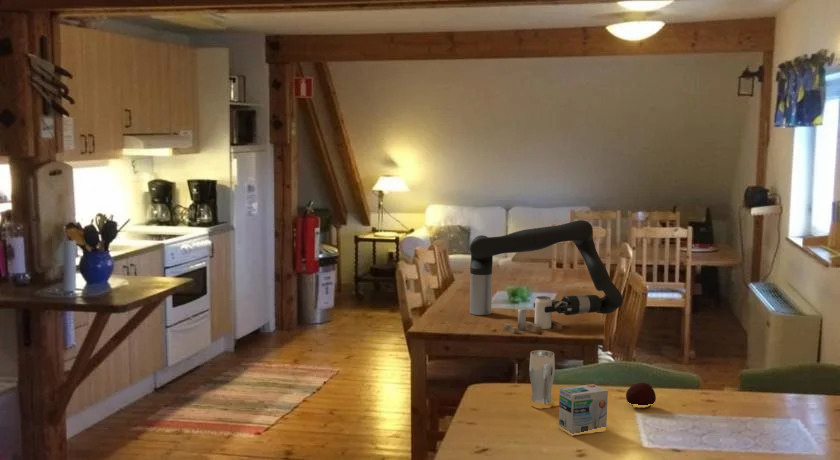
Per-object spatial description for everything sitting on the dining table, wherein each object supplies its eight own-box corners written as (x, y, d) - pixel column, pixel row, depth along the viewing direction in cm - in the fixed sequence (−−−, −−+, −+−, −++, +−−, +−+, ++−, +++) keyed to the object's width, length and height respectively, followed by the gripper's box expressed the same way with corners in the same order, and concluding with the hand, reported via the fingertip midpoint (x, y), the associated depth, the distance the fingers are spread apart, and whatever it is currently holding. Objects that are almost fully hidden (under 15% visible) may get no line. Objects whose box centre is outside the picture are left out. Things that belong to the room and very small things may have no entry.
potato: (619, 405, 235) (620, 381, 234) (644, 402, 238) (645, 378, 237) (636, 413, 228) (637, 388, 227) (661, 409, 231) (662, 385, 231)
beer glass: (538, 411, 229) (539, 357, 228) (523, 404, 235) (524, 351, 234) (558, 407, 233) (560, 354, 231) (544, 400, 239) (545, 348, 237)
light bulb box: (572, 437, 209) (573, 395, 208) (557, 428, 216) (558, 387, 214) (607, 431, 214) (609, 390, 212) (592, 423, 220) (593, 383, 219)
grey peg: (516, 329, 325) (516, 309, 324) (523, 328, 326) (523, 308, 325) (520, 331, 322) (520, 310, 321) (527, 330, 323) (527, 309, 322)
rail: (502, 331, 326) (503, 323, 326) (550, 327, 334) (550, 319, 333) (513, 336, 318) (513, 328, 317) (562, 331, 325) (562, 324, 325)
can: (550, 330, 324) (551, 299, 322) (533, 329, 325) (534, 298, 324) (551, 326, 330) (552, 296, 329) (535, 325, 331) (535, 295, 330)
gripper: (566, 292, 338) (530, 294, 332) (585, 298, 325) (549, 301, 319) (565, 310, 339) (530, 313, 333) (585, 317, 325) (548, 320, 319)
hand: (539, 307), depth 326 cm, fingers open, 8 cm apart
